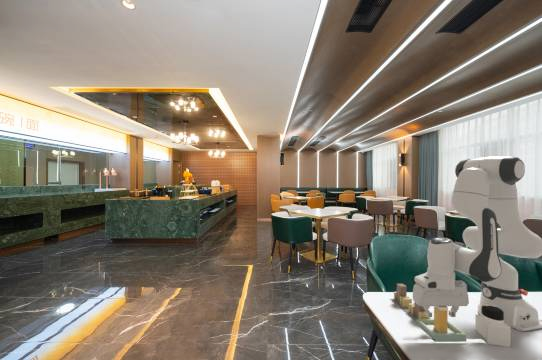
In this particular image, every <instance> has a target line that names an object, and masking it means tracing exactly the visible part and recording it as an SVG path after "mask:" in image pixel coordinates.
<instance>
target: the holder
mask: <svg viewBox="0 0 542 360" xmlns="http://www.w3.org/2000/svg"><path fill="white" fill-rule="evenodd" d="M407 289H408V287H407V285H406V284H404V283H396V291H394V292H393V298H389V300H390V301H392V303H394V304H395V305H396V306H397V307H398V308H399V309H401V310H402V311H403V312H404V313H405V314H406V315H407V316H408V317H409V318H411V319H412V320H413V321H414V322H415V323H417V322H416V320H417V319H432V317H427V316H426V315H425V310H424V308H423V306H419V305H418V304H416V303H415V302H414V301H413V298H410V297H409V295H408V294H407ZM407 295H408V296H407Z"/></svg>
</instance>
